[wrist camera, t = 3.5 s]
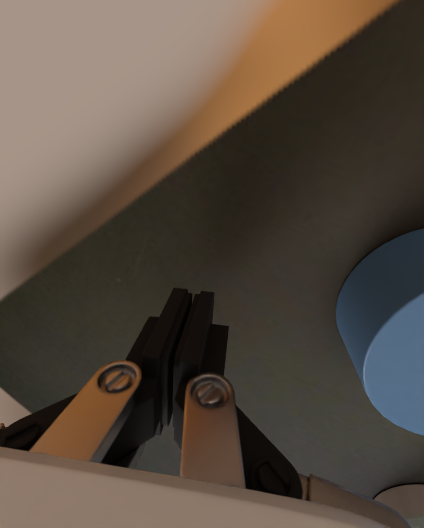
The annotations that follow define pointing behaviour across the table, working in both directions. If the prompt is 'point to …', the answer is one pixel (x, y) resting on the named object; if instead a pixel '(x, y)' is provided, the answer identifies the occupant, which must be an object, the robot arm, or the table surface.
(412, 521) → the coffee cup
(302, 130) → the table surface
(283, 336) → the table surface
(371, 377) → the puck
